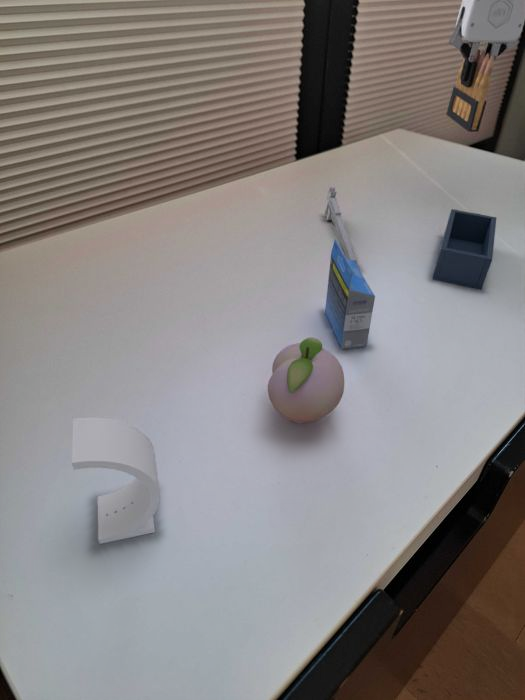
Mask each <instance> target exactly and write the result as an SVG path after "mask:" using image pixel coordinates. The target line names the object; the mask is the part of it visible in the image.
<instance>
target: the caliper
mask: <svg viewBox="0 0 525 700" xmlns="http://www.w3.org/2000/svg"><path fill="white" fill-rule="evenodd" d="M336 196H337V191H336V187H329V190H328V191H327V195H326V199H325V207H324V216H326V221H332V225H335V228H336V232H337V234H338V237H339V240H340V243H341V246H342V250H343V253H344V255H345V257H346V258H347V259H350V260H353V261H355V263H356V265H357V267H358V264H357V257H356V253H355V251H354V248H353V246H352V242H351V240H350V237H349V234H348V231H347V229H346V226H345V222H344V220H343V217H342V211H341V208H340V205H339V202H338V200H337V198H336ZM358 268H359V267H358Z"/></svg>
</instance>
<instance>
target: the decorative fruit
mask: <svg viewBox="0 0 525 700" xmlns="http://www.w3.org/2000/svg"><path fill="white" fill-rule="evenodd" d="M271 373H272V374H271V376H270V378H269V380H268V383H267V395H268V399H269V401H270V403H271V405H272V407H273V408H274V410H275V411H276V412H277V413H278V414H279V415H280V416H282V417H283V418H284V419H285V420H287V421H290V422H293V423H297V424H308V423H313V422H316V421H319V420H321V419H322V418H324V417H326V416H327V415H329V414H330V413H332V412H333V411H334V410H335V409H336V408H337V407H338V405H339V404H340V402H341V401H342V398H343V396H344V393H345V392H344V391H345V375H344V370H343V367H342V364H341V362H340V361H339V360H338V358H337V357H336V356H335V355H334V354H333V353H332V352H330V351H329V350H327V349H325V348H323V343H322V342H321V340H319V339H318V338H316V337H307V338H305V339H303V340H302V341H300V342H296V343H292V344H289V345H287V346H285V347H283V348H282V349H281V350H280V351H279V352H278V353H277V355H276V356H275V357H274V359H273V362H272V368H271Z"/></svg>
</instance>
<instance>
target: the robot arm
mask: <svg viewBox="0 0 525 700" xmlns="http://www.w3.org/2000/svg"><path fill="white" fill-rule="evenodd" d="M524 25H525V0H461V4H460V7H459V10H458V15H457V19H456V23H455V27H454V28H455V29H454V31H453V32H452V35H451V36H450V38H449V40H448V44H449V45H451V46H452V47H454V48H455V49H457V50H459V51H460V54H461V55H462V58H463V59H465V61H464V65H463V69H462V73H461V77H460V79H461V84H462V85H464V86H465V87H471V86H472V83H473V79H474V75H475V71H476V68H477V62H475V60H476V56H477V52H478V50H479V48H480V43H486V44H485V48H484V54H485V56H486V55H487V54H489V60H490V58H491V56H494V62H496V61H497V58H498V57H499V56H500V55H502V54H503V53H504V52H505V51H507V50H510V49H512V48H514V47H517V45H518V44H519V38H520V36H521V34H522V31H523V28H524ZM462 38H463V39H464V40H465V41H463V40H462ZM484 58H485V57H484Z"/></svg>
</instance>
